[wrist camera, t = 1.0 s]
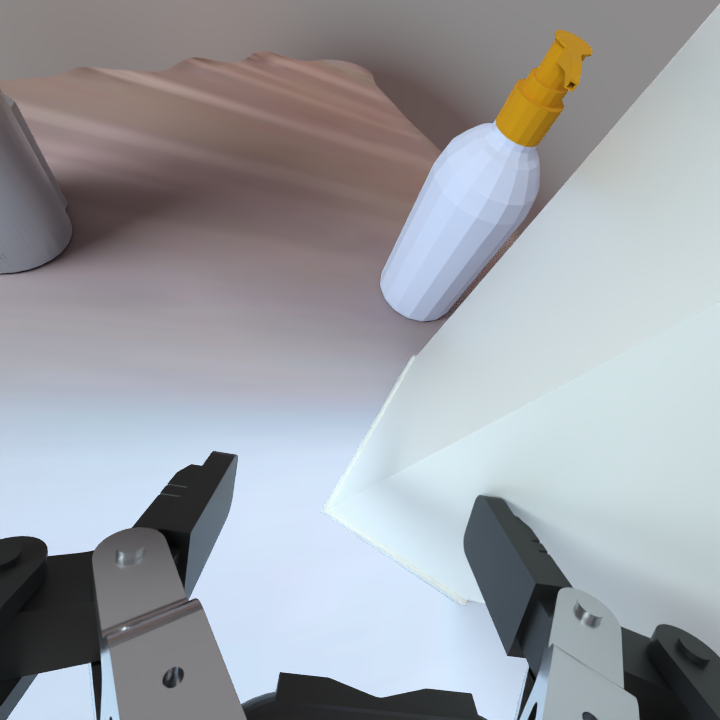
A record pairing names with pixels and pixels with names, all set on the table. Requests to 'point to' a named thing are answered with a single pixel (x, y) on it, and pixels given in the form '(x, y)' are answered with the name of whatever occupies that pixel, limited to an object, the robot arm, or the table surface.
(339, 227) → the table surface
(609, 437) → the storage box
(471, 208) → the soap bottle
